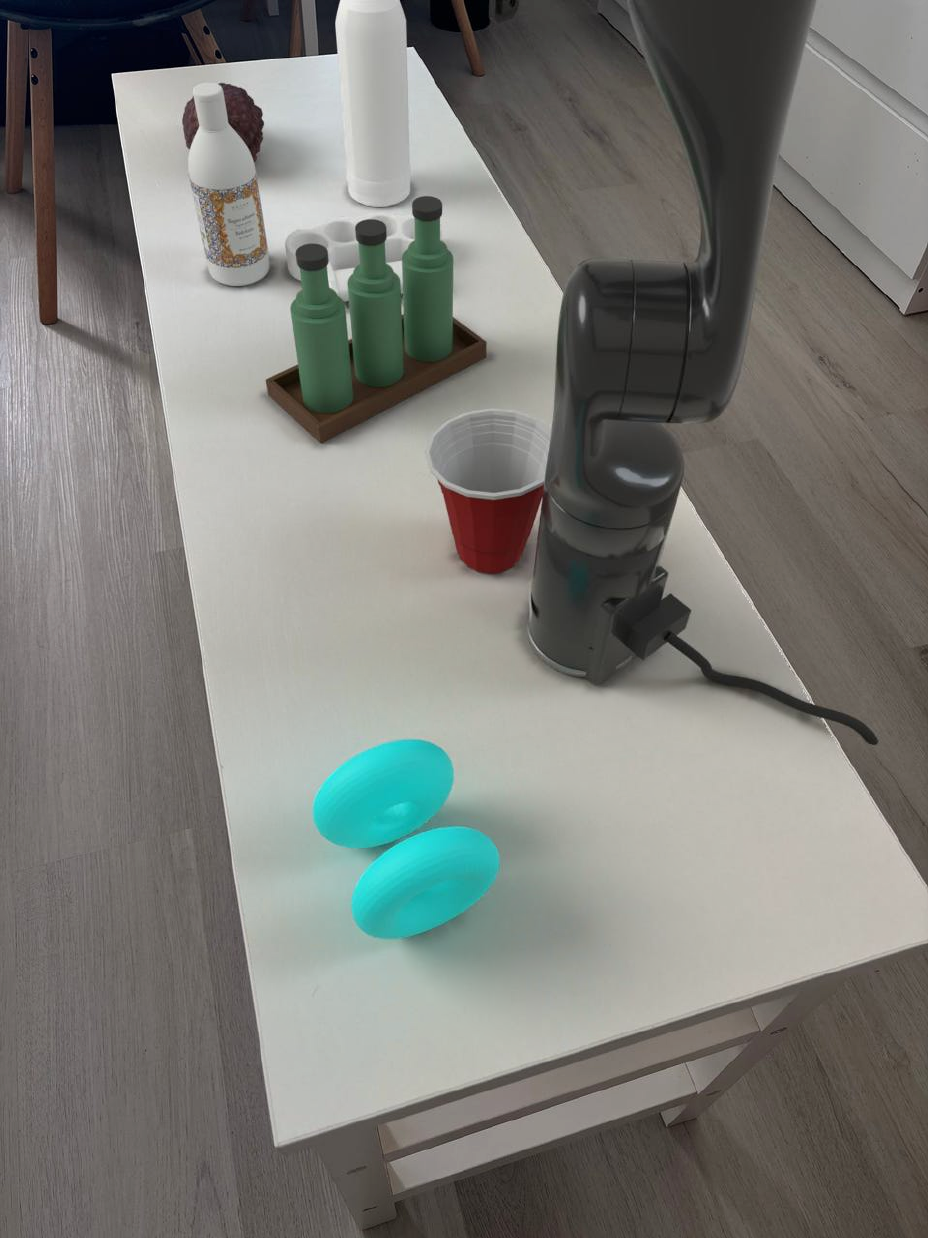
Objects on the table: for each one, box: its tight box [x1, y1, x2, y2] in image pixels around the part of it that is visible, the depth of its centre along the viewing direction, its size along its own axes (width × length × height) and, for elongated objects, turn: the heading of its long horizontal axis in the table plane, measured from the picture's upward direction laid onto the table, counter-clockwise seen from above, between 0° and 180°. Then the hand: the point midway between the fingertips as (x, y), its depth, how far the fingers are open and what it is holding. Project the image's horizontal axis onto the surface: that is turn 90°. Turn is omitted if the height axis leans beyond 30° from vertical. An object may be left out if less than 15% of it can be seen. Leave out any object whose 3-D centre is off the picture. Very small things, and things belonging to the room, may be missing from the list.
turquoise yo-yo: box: [312, 738, 501, 940], centre depth 64 cm, size 10×10×10 cm
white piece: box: [284, 212, 443, 303], centre depth 111 cm, size 3×18×15 cm
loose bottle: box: [289, 243, 353, 414], centre depth 91 cm, size 5×5×16 cm
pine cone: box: [181, 82, 265, 164], centre depth 124 cm, size 18×10×10 cm
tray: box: [265, 313, 488, 444], centre depth 100 cm, size 9×21×2 cm, turn 130°
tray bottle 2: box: [402, 195, 454, 362], centre depth 97 cm, size 5×5×16 cm
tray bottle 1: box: [347, 219, 404, 387], centre depth 94 cm, size 5×5×16 cm
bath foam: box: [187, 82, 271, 287], centre depth 104 cm, size 7×7×20 cm
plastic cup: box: [424, 407, 552, 575], centre depth 82 cm, size 11×11×12 cm
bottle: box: [334, 0, 412, 208], centre depth 111 cm, size 8×8×30 cm
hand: (465, 0), depth 77 cm, fingers open, 8 cm apart
